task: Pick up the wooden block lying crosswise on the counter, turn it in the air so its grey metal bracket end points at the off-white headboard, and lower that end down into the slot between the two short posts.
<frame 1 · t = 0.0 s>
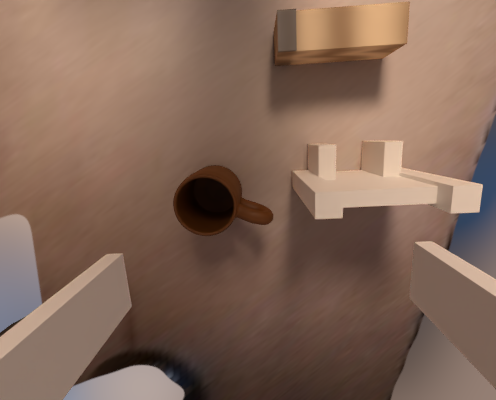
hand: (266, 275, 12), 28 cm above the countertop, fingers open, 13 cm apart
mug: (231, 193, 41), on the countertop
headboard: (341, 161, 39), on the countertop
wooden block: (328, 45, 35), on the countertop
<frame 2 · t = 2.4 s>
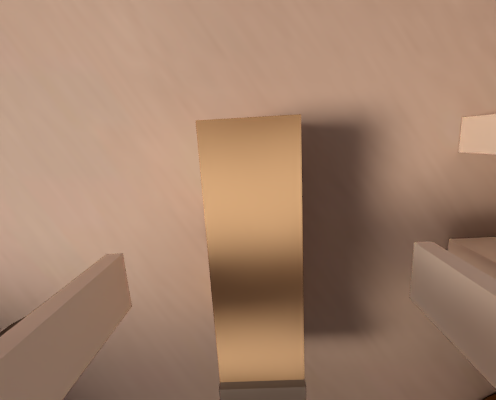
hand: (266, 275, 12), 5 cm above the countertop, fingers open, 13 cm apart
wooden block: (255, 236, 18), on the countertop
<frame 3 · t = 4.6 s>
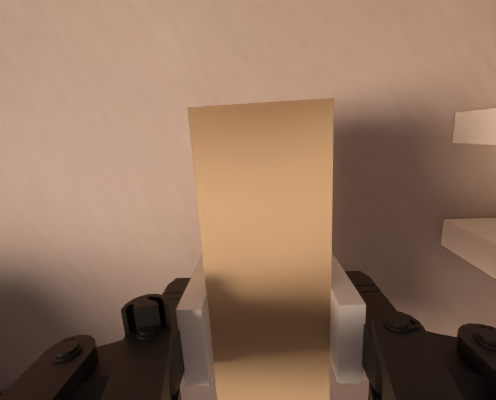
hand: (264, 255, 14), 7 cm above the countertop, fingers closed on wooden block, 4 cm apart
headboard: (486, 180, 19), on the countertop
wooden block: (264, 251, 15), point 6 cm above the countertop, touching gripper
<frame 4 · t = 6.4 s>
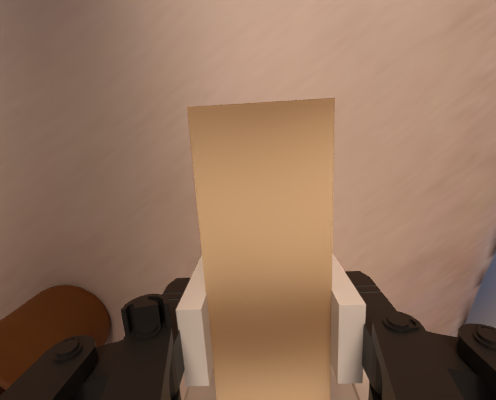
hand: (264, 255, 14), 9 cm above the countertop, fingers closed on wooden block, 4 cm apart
mug: (97, 322, 26), on the countertop
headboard: (264, 279, 24), on the countertop
wooden block: (264, 251, 15), point 8 cm above the countertop, touching gripper
when the fingers open (0 cm above the countertop, at t = 8.5 s): wooden block stays where it is, on the countertop.
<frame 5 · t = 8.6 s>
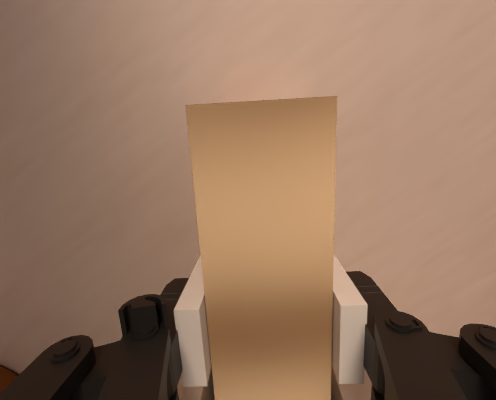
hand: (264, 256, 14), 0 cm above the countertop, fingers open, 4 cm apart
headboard: (268, 354, 16), on the countertop
wooden block: (264, 252, 15), on the countertop
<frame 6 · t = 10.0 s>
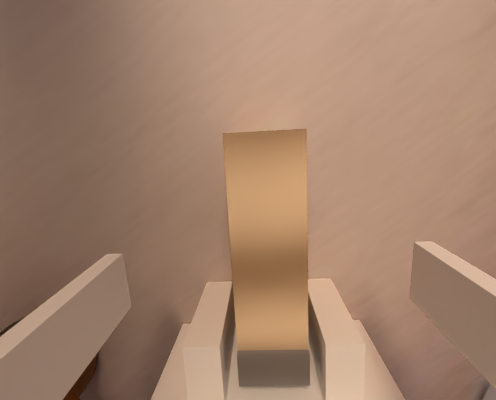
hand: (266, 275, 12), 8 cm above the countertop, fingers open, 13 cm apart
mug: (83, 355, 23), on the countertop
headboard: (269, 310, 22), on the countertop
wooden block: (266, 231, 20), on the countertop
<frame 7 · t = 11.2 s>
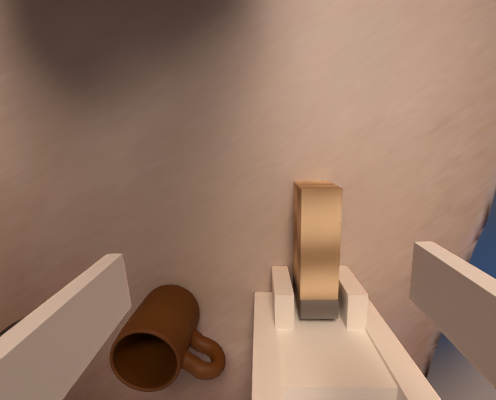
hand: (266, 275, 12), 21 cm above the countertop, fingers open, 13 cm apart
mug: (188, 311, 37), on the countertop
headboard: (308, 284, 35), on the countertop
wooden block: (309, 236, 34), on the countertop
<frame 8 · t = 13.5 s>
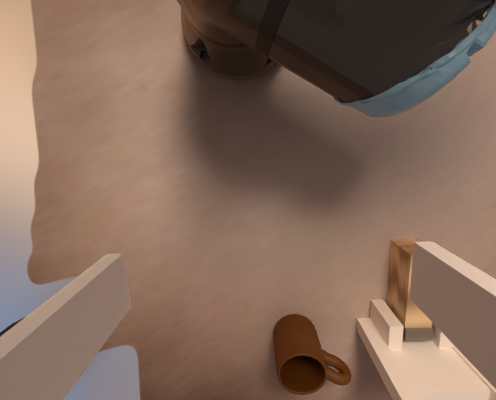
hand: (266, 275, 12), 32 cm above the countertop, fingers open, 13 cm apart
mug: (305, 333, 50), on the countertop
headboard: (397, 311, 48), on the countertop
wooden block: (400, 278, 46), on the countertop
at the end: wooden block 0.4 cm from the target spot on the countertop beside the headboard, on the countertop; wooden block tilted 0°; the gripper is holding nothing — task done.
